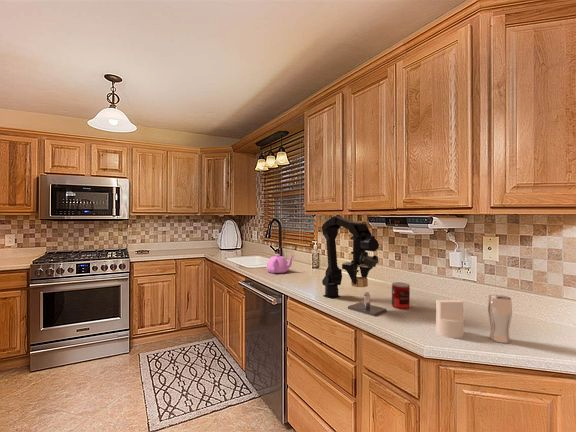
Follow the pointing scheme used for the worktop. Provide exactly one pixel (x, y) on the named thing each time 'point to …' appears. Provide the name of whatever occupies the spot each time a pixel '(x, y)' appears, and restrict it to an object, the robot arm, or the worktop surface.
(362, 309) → the shaft stand
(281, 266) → the teapot
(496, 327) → the beer glass
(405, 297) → the canned food
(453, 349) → the worktop surface
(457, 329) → the base with upright slab
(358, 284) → the ring
